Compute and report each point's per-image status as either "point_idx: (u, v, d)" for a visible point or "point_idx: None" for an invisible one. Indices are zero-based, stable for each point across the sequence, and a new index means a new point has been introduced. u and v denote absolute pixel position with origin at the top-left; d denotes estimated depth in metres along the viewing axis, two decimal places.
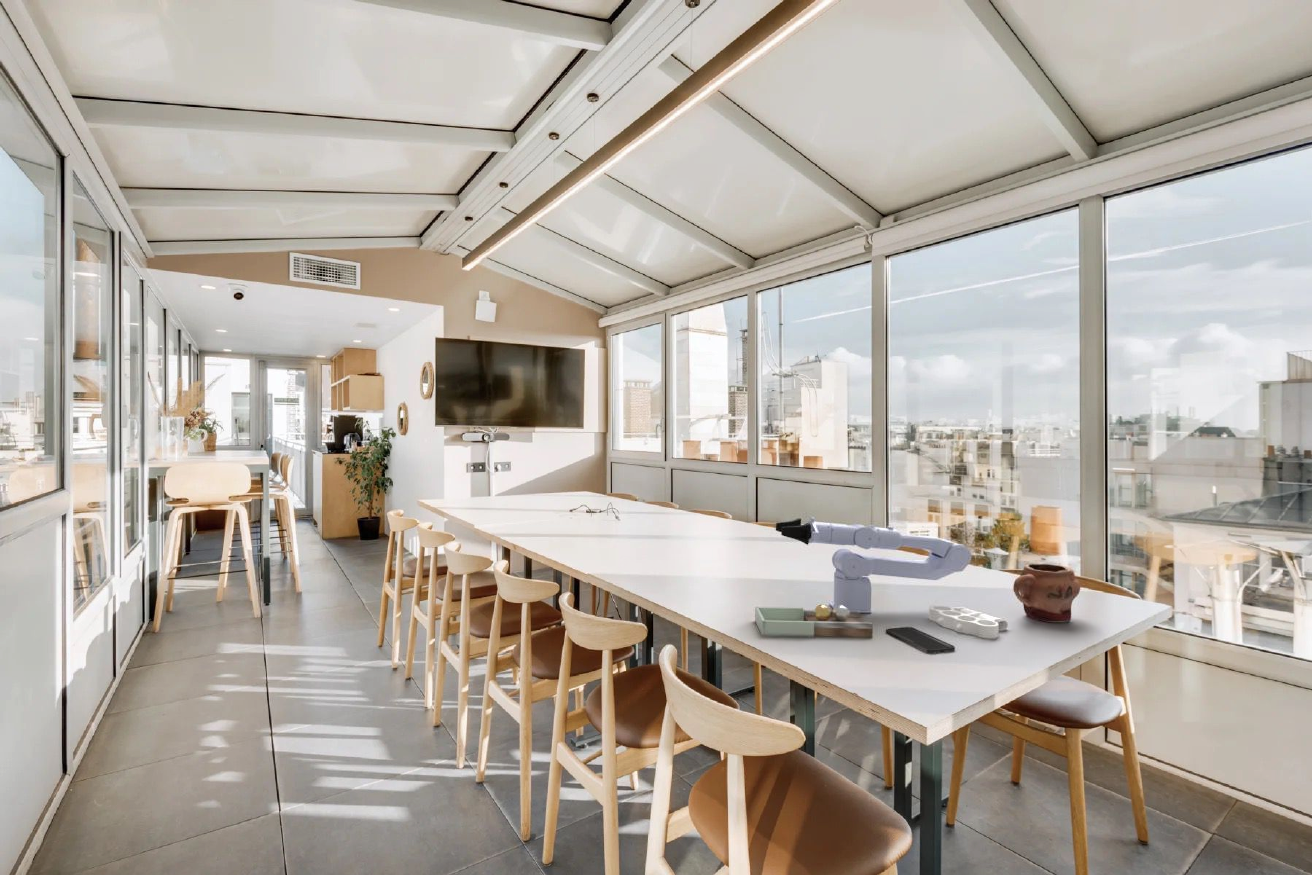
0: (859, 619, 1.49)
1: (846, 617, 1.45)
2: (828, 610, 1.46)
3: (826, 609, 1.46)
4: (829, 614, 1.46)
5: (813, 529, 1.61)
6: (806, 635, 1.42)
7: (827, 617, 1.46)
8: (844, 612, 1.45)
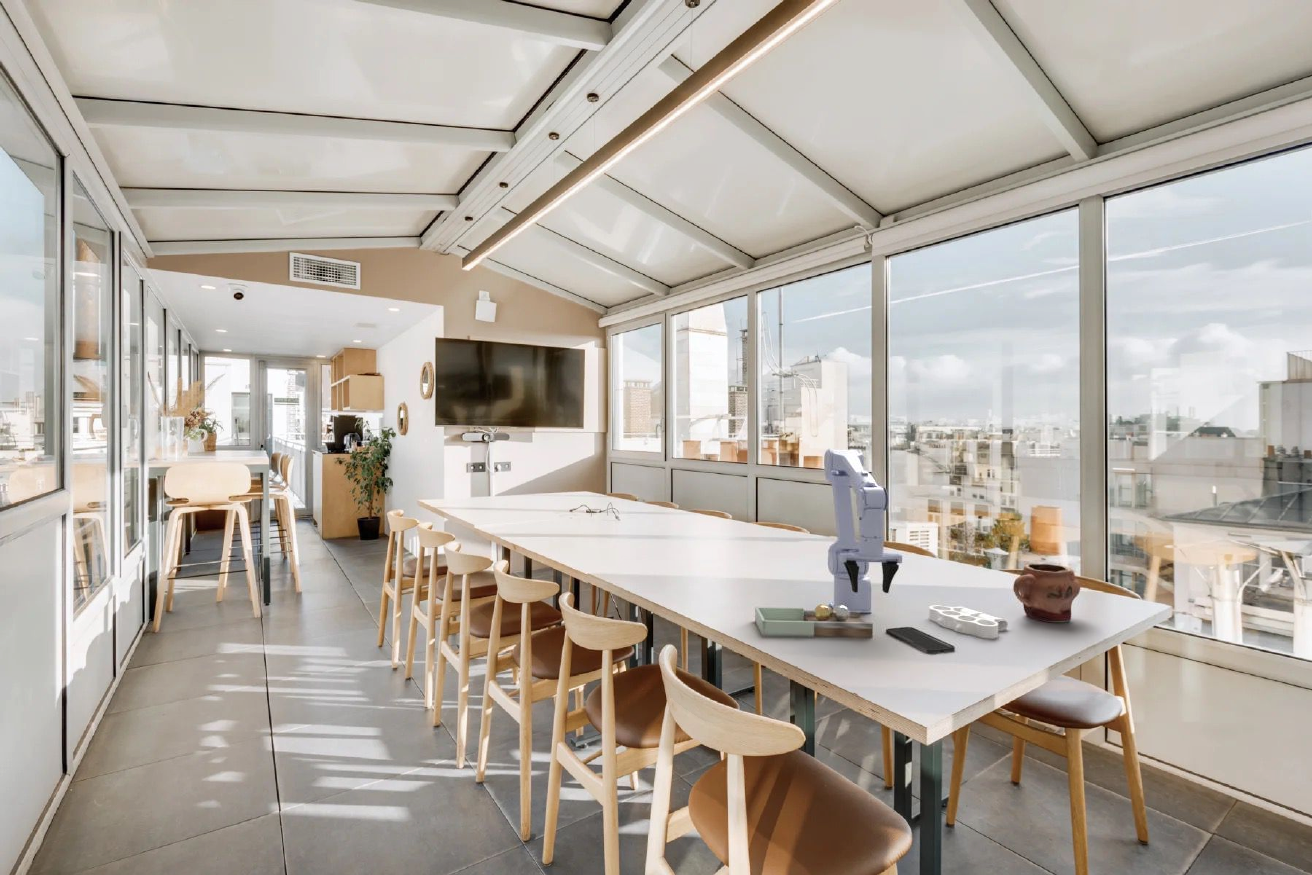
0: (859, 619, 1.49)
1: (846, 617, 1.45)
2: (828, 610, 1.46)
3: (826, 609, 1.46)
4: (829, 614, 1.46)
5: (888, 558, 1.46)
6: (806, 635, 1.42)
7: (827, 617, 1.46)
8: (844, 612, 1.45)
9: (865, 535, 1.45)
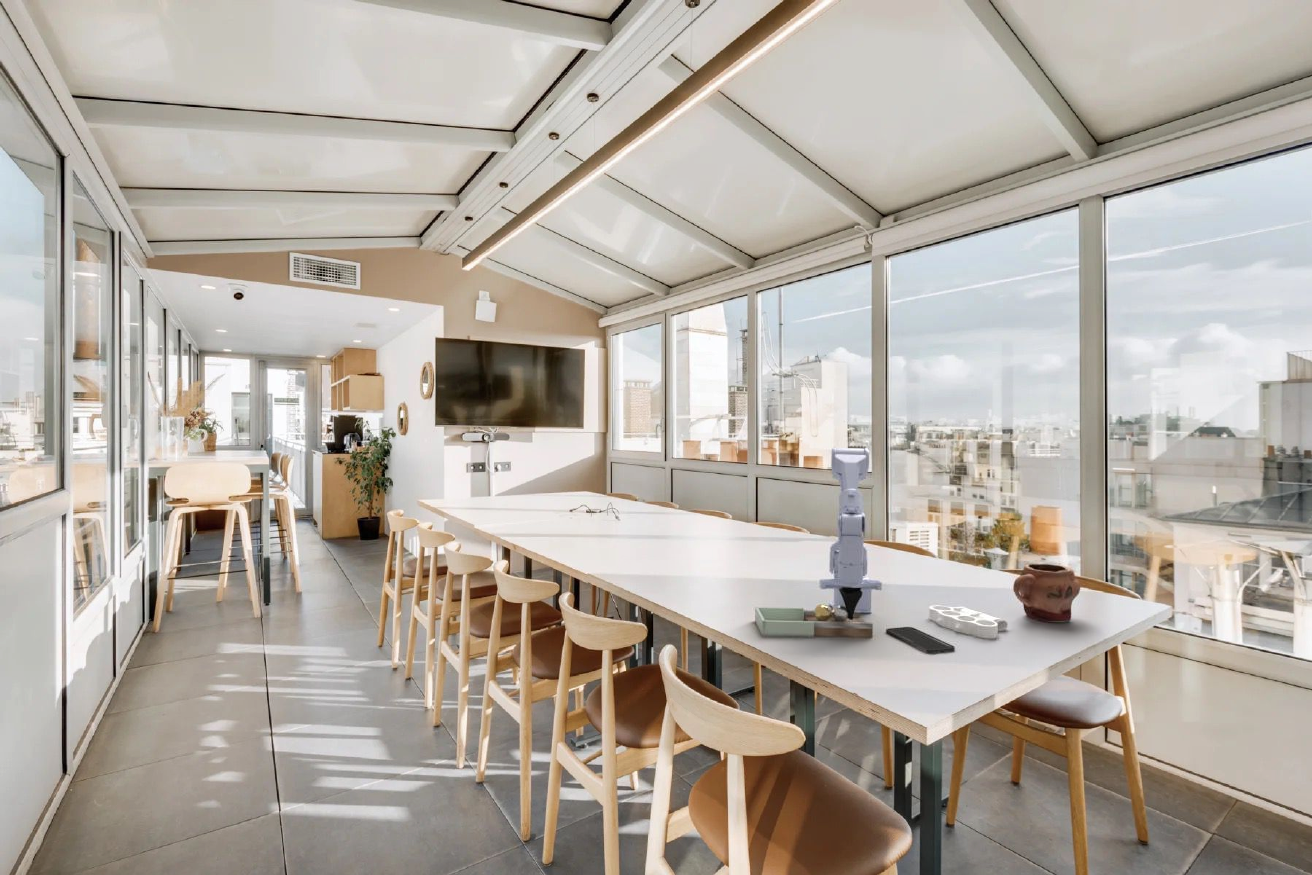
0: (859, 619, 1.49)
1: (845, 617, 1.45)
2: (828, 610, 1.46)
3: (826, 609, 1.46)
4: (829, 614, 1.46)
5: (867, 585, 1.46)
6: (806, 635, 1.42)
7: (827, 617, 1.46)
8: (843, 612, 1.45)
9: (842, 561, 1.46)
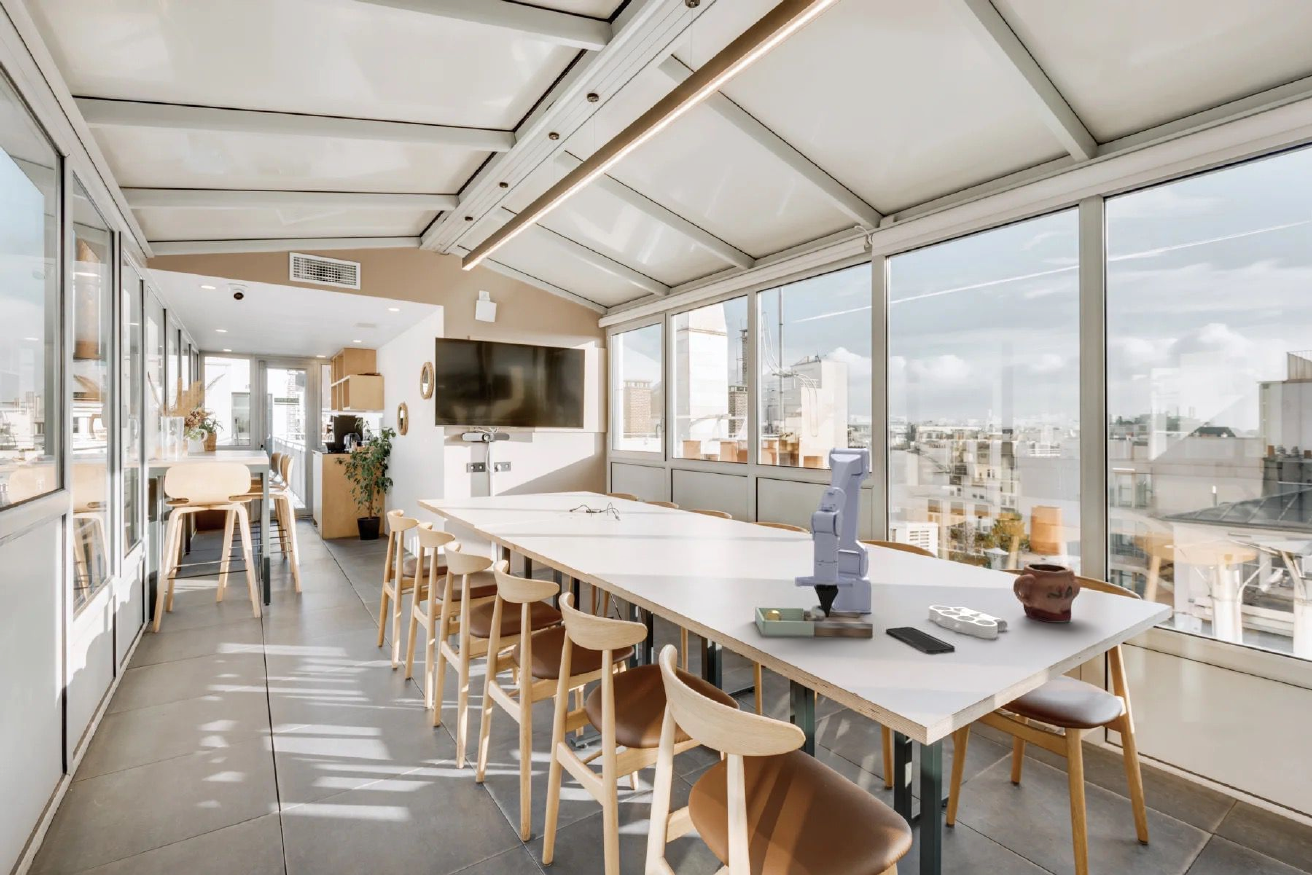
0: (859, 619, 1.49)
1: (818, 612, 1.45)
2: (778, 616, 1.46)
3: (776, 615, 1.46)
4: (779, 620, 1.46)
5: None
6: (806, 635, 1.42)
7: None
8: (819, 617, 1.45)
9: (815, 558, 1.46)
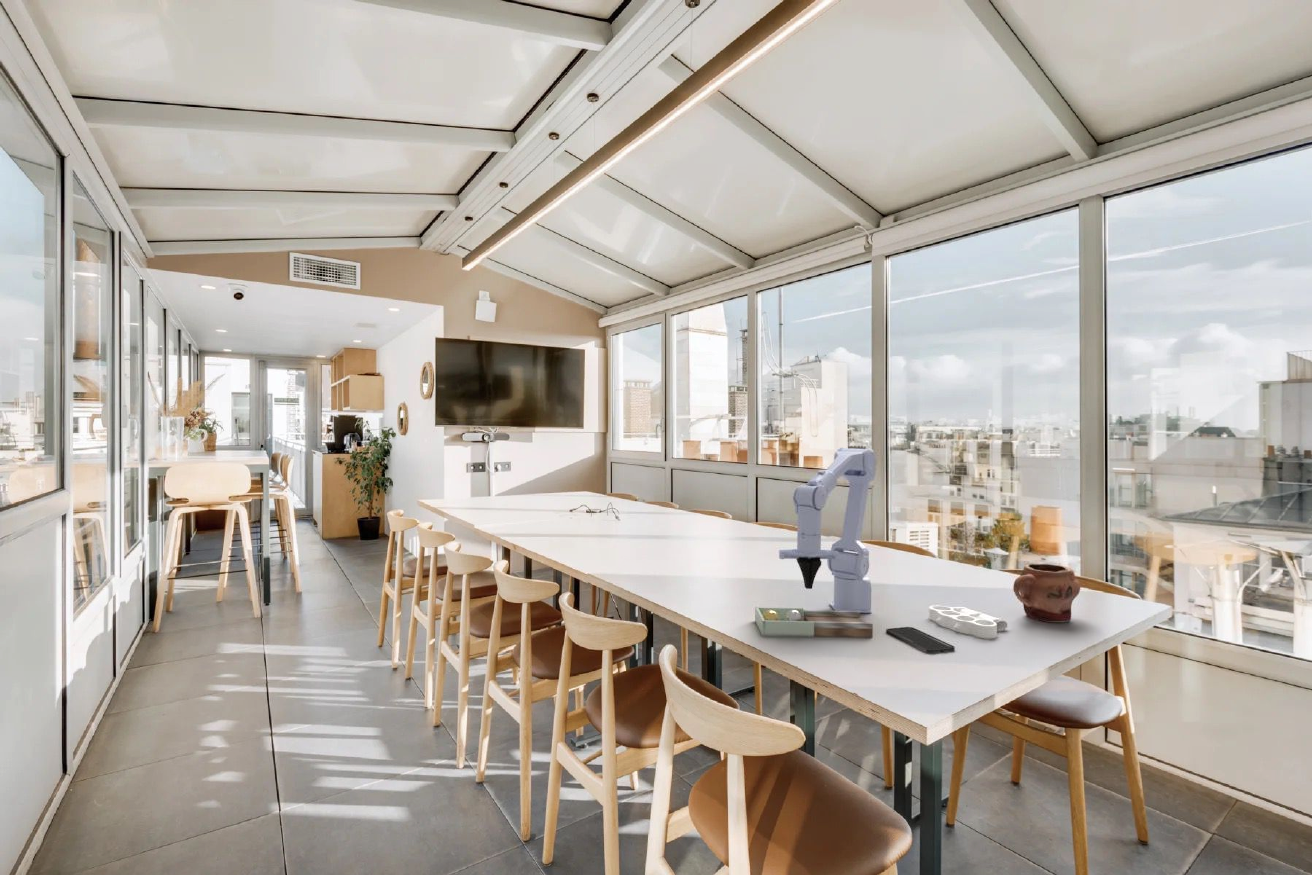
0: (859, 619, 1.49)
1: None
2: (774, 615, 1.46)
3: (772, 615, 1.46)
4: (776, 618, 1.46)
5: None
6: (806, 635, 1.42)
7: None
8: (798, 618, 1.46)
9: (797, 531, 1.50)
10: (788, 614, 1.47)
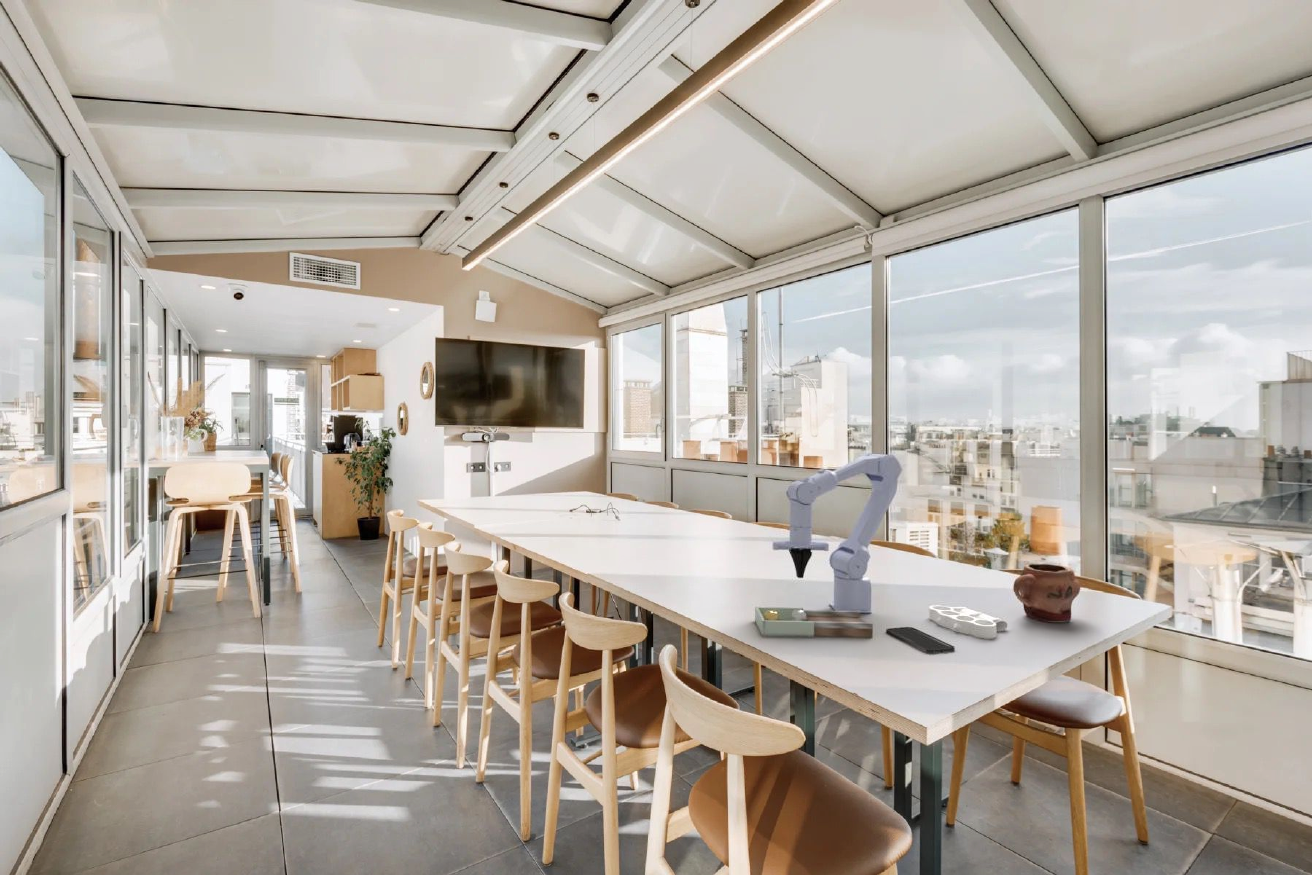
0: (859, 619, 1.49)
1: (799, 619, 1.46)
2: (775, 615, 1.46)
3: (773, 615, 1.46)
4: (777, 619, 1.46)
5: (815, 546, 1.60)
6: (806, 635, 1.42)
7: None
8: (804, 619, 1.46)
9: None
10: (798, 610, 1.48)
